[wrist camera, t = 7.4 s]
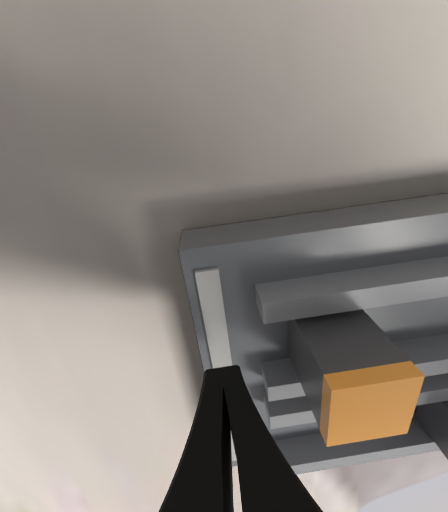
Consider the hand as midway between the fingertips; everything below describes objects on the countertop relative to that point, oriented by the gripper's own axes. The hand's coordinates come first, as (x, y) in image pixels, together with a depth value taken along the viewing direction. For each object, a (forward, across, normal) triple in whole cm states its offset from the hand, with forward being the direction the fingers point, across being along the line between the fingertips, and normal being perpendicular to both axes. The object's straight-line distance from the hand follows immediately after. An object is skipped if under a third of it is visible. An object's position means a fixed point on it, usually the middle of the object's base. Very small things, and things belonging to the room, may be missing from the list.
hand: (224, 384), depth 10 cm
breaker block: (+5, -9, +3) cm, 11 cm away
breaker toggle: (+2, -5, 0) cm, 5 cm away
